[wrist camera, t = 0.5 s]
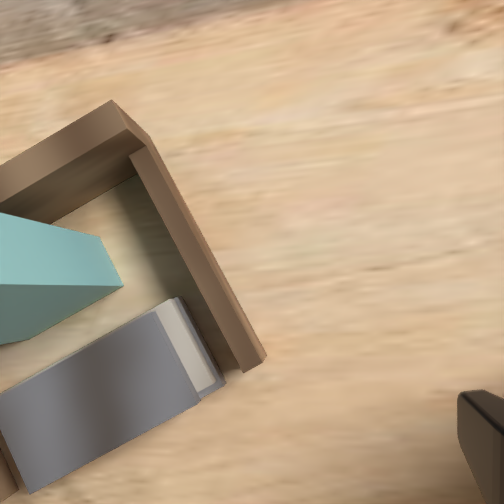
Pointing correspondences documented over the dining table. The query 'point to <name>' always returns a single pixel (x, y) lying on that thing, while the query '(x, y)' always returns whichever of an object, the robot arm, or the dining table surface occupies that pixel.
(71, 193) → the frame
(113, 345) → the offcut stack
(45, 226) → the teal rectangular block
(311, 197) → the dining table surface
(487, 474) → the robot arm
